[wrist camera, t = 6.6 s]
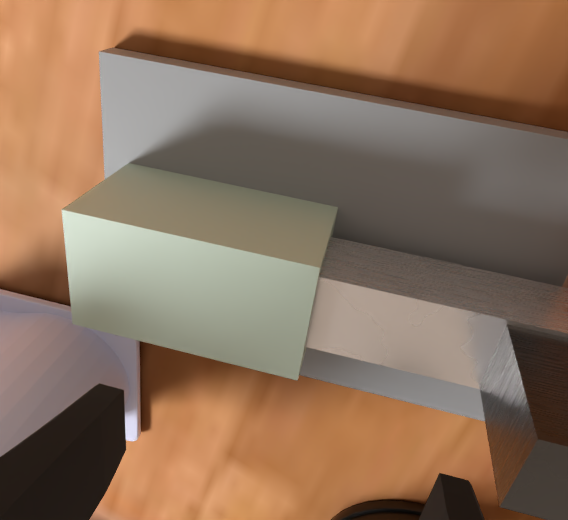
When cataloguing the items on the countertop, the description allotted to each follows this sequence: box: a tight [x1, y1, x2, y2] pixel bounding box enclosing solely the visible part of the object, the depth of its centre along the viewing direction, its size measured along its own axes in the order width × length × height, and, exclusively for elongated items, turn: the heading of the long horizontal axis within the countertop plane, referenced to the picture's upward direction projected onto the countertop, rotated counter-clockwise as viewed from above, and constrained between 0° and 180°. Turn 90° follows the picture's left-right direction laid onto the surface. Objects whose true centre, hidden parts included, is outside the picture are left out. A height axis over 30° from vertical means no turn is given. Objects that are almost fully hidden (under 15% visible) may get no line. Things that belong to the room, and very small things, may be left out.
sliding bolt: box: [305, 237, 568, 520], centre depth 16 cm, size 14×3×7 cm, turn 83°
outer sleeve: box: [62, 163, 338, 381], centre depth 18 cm, size 8×4×4 cm, turn 82°
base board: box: [99, 48, 568, 421], centre depth 20 cm, size 22×12×1 cm, turn 83°
